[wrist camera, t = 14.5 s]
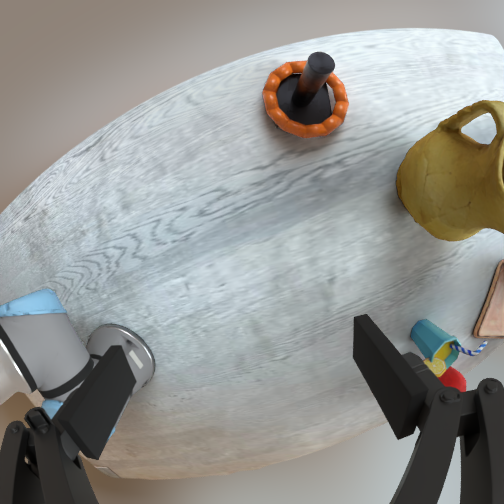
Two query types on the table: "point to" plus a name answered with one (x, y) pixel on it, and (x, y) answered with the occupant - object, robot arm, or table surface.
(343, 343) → the table surface
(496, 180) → the pitcher
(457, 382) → the apple
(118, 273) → the table surface
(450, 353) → the cup
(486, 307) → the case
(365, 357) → the robot arm
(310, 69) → the peg stand
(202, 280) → the table surface
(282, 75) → the ring
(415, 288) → the table surface
